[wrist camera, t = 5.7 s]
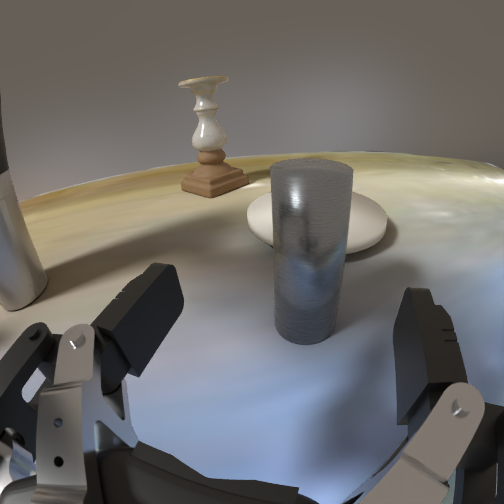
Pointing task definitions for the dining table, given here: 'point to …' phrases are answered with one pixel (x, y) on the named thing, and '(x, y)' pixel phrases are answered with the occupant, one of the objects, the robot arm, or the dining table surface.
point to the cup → (309, 245)
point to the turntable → (360, 225)
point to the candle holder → (210, 145)
